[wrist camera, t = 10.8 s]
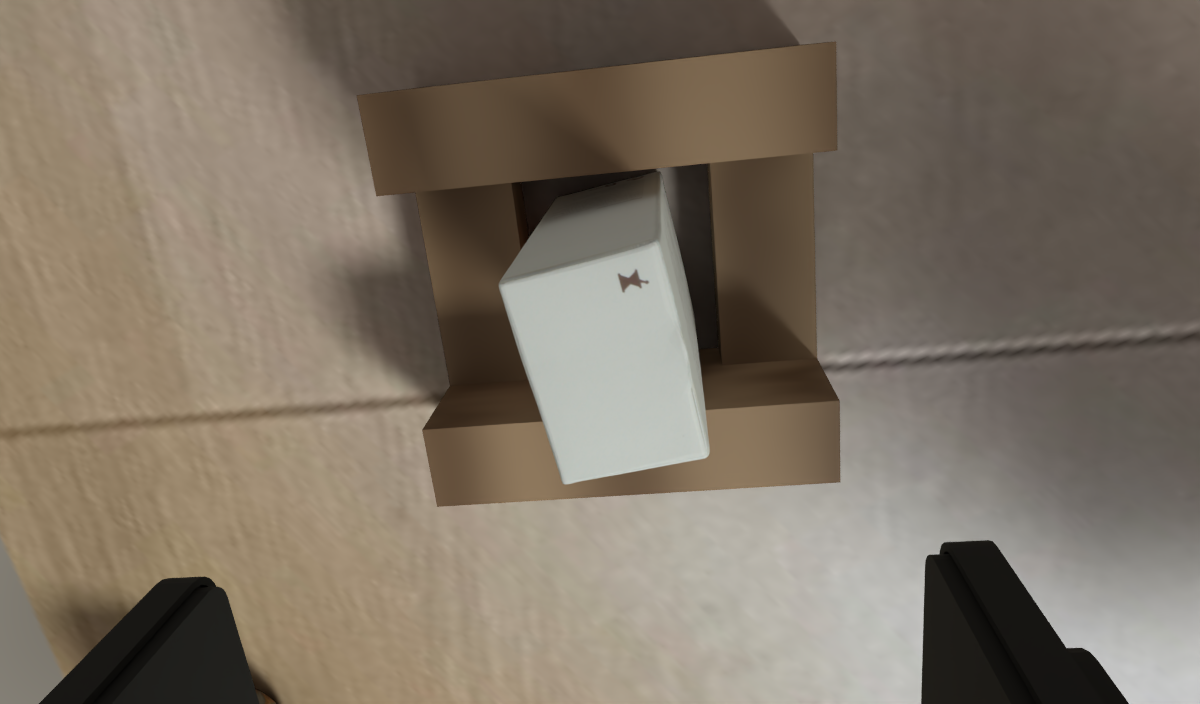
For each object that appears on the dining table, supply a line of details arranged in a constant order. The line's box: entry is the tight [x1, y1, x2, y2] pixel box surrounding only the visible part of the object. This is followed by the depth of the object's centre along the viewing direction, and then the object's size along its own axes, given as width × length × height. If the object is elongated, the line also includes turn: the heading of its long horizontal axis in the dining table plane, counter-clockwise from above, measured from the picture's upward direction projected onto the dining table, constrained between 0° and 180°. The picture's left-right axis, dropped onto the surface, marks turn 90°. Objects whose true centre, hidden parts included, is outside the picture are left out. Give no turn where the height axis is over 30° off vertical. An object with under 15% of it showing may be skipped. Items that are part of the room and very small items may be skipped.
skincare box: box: [499, 172, 710, 485], centre depth 26 cm, size 6×4×12 cm
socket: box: [357, 42, 840, 507], centre depth 29 cm, size 14×14×6 cm
